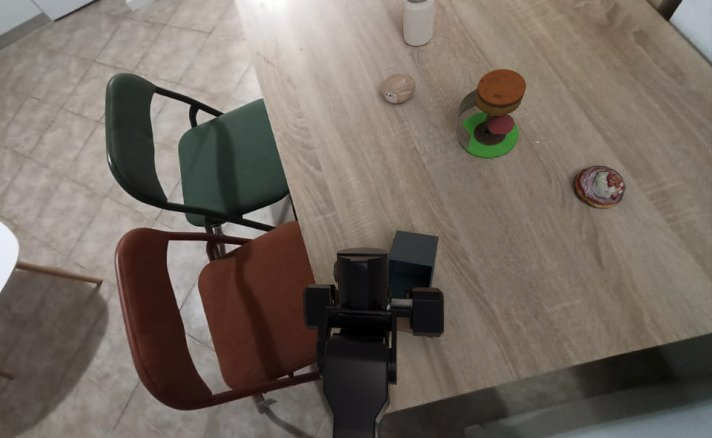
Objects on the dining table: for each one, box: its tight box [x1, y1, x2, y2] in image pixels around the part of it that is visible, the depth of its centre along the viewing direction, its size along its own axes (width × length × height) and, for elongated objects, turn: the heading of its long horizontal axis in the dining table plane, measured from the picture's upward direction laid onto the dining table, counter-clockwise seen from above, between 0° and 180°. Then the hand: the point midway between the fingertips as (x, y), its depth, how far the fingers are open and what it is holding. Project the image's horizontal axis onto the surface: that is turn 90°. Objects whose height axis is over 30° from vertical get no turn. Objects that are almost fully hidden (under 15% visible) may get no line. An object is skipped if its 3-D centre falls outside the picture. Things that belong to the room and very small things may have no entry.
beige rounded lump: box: [380, 73, 416, 104], centre depth 93 cm, size 7×6×8 cm
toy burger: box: [455, 68, 527, 159], centre depth 80 cm, size 12×13×15 cm
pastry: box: [574, 165, 626, 209], centre depth 75 cm, size 8×8×5 cm
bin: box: [388, 229, 440, 307], centre depth 74 cm, size 14×7×14 cm, turn 164°
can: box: [402, 0, 436, 47], centre depth 96 cm, size 6×6×12 cm
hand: (375, 292), depth 69 cm, fingers open, 9 cm apart
